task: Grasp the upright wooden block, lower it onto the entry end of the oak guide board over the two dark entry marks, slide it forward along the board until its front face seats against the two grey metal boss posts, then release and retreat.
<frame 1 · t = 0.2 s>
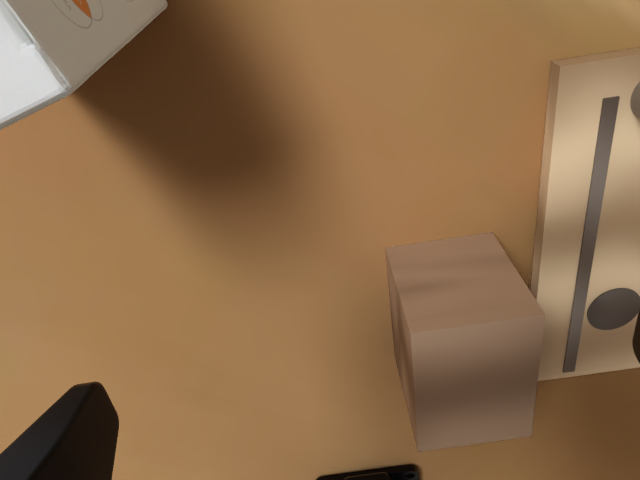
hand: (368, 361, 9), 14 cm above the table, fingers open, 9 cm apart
upright wooden block: (439, 297, 27), on the table
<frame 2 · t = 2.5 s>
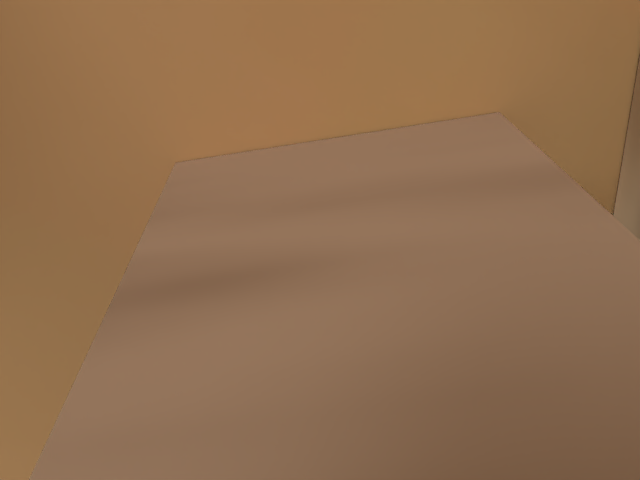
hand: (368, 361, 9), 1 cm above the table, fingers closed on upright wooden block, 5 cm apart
upright wooden block: (359, 314, 10), on the table, touching gripper
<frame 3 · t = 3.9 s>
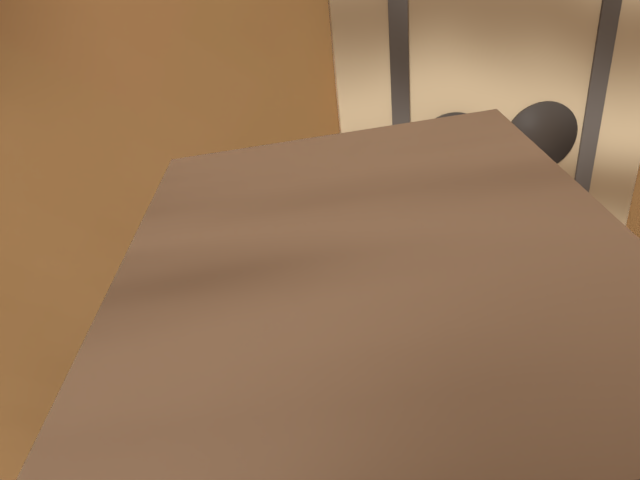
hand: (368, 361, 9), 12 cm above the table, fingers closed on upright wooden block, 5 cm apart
guide board: (495, 20, 18), on the table
upright wooden block: (357, 312, 10), point 11 cm above the table, touching gripper
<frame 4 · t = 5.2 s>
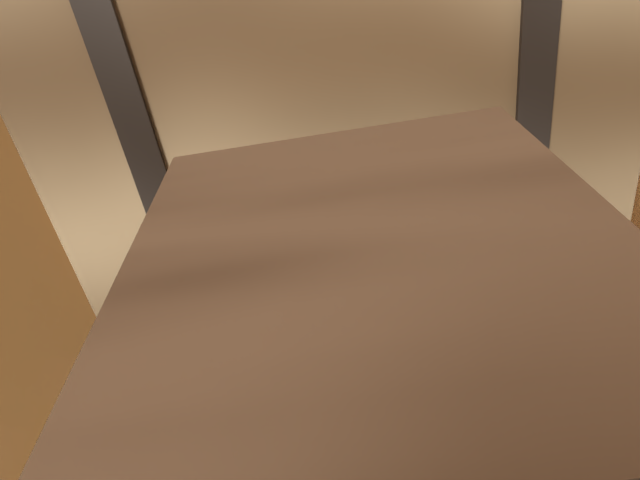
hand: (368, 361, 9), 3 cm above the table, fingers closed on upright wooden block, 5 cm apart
guide board: (328, 68, 9), on the table
upright wooden block: (359, 310, 10), point 2 cm above the table, touching gripper
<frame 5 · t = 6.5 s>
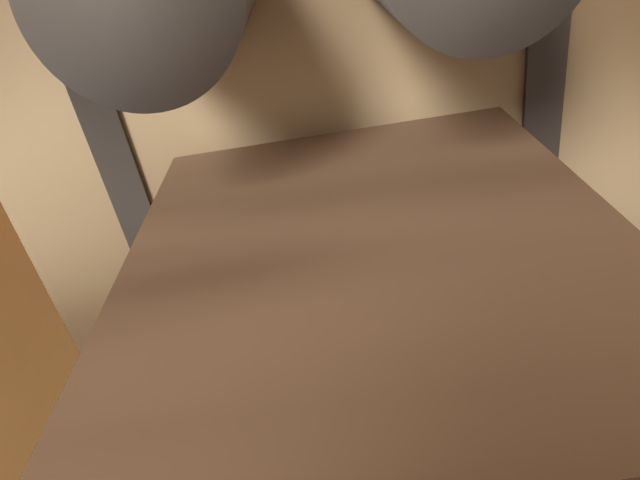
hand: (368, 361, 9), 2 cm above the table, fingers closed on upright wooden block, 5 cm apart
guide board: (353, 308, 11), on the table
upright wooden block: (359, 310, 10), point 1 cm above the table, touching gripper
when the fingers open (2 cm above the table, at t = 7.9 s): upright wooden block stays where it is, resting on guide board.
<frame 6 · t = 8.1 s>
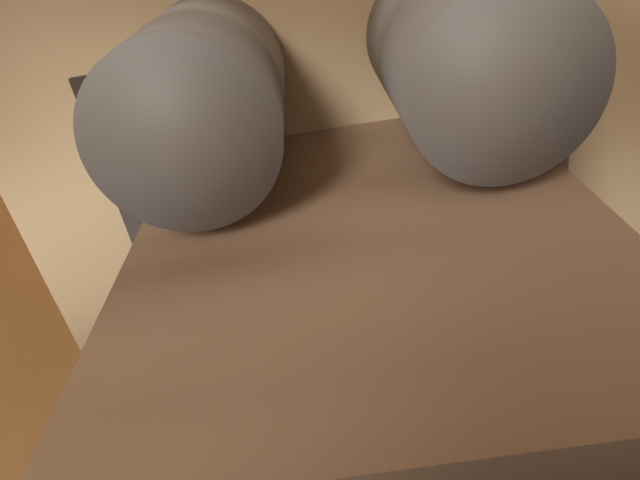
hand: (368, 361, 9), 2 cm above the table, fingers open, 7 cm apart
guide board: (364, 355, 12), on the table
upright wooden block: (357, 303, 10), point 1 cm above the table, touching guide board
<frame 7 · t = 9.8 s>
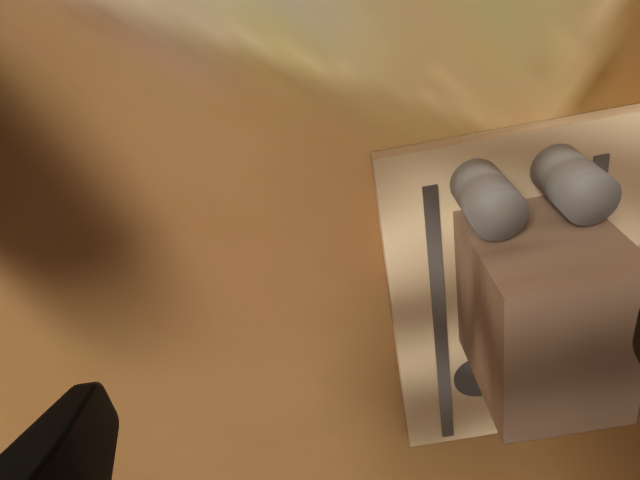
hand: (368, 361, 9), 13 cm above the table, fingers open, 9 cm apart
guide board: (506, 298, 25), on the table
upright wooden block: (512, 270, 23), point 1 cm above the table, touching guide board
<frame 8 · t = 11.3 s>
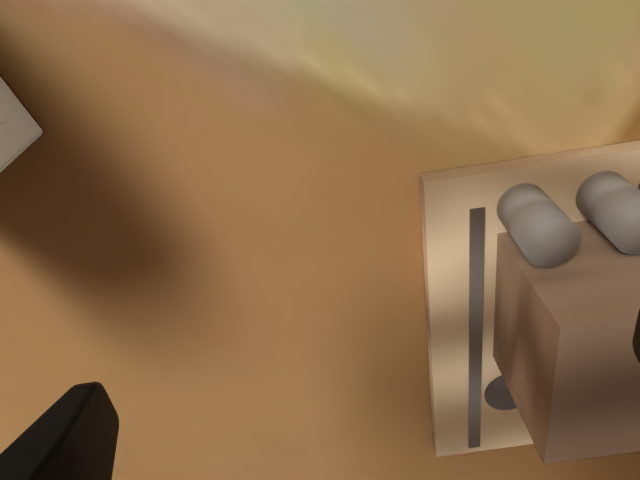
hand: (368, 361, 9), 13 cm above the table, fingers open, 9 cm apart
guide board: (540, 316, 26), on the table
upright wooden block: (550, 291, 24), point 1 cm above the table, touching guide board
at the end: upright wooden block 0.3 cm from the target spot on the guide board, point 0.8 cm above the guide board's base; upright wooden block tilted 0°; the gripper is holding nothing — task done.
